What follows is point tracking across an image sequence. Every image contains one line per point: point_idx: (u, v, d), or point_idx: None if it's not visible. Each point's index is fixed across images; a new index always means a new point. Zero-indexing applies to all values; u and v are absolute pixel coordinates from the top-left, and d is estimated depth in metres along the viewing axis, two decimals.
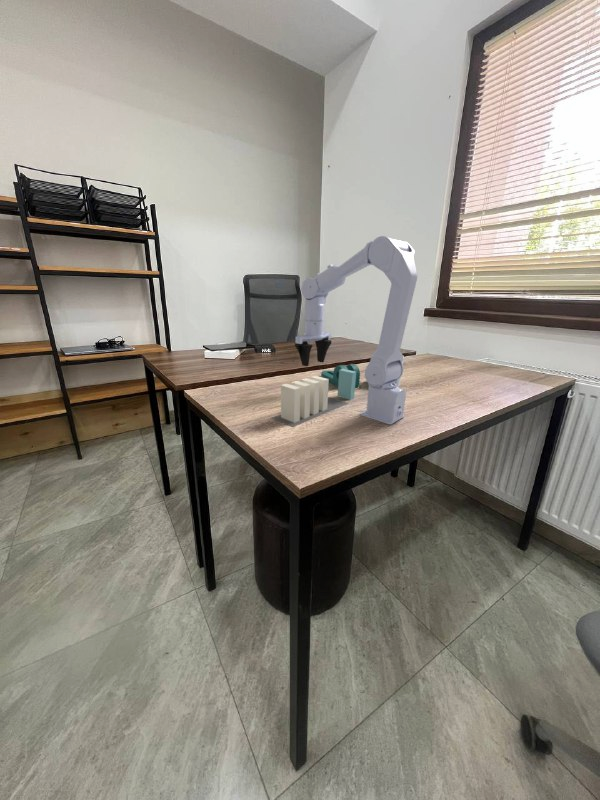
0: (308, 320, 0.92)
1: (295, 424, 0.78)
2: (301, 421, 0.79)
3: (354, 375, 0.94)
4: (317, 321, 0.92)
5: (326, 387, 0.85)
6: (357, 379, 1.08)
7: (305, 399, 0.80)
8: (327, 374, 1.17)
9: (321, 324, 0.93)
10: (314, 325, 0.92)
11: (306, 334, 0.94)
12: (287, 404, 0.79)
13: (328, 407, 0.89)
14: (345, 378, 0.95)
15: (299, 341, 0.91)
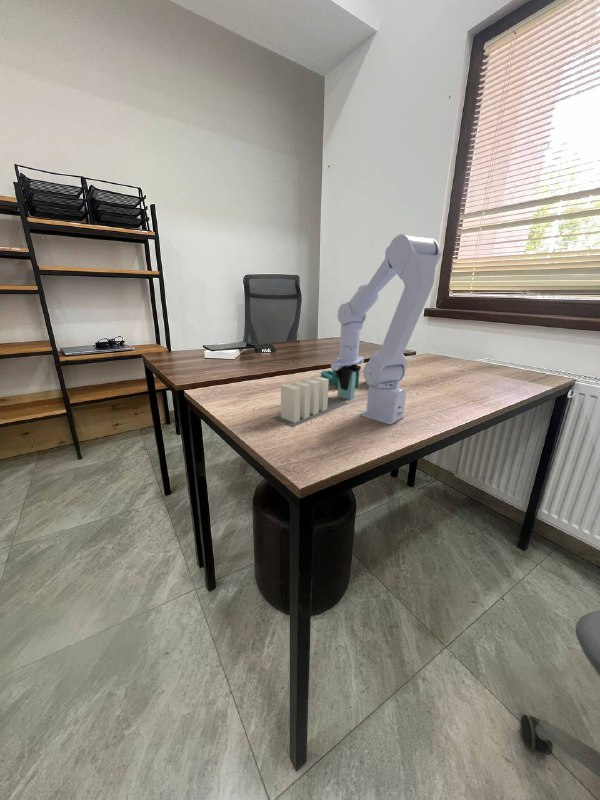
0: (344, 346, 0.90)
1: (295, 424, 0.78)
2: (301, 421, 0.79)
3: (354, 375, 0.94)
4: (353, 347, 0.90)
5: (326, 387, 0.85)
6: (356, 379, 1.07)
7: (305, 399, 0.80)
8: (327, 374, 1.17)
9: (357, 350, 0.91)
10: (350, 351, 0.90)
11: (341, 359, 0.92)
12: (287, 404, 0.79)
13: (328, 407, 0.89)
14: None
15: (335, 368, 0.89)
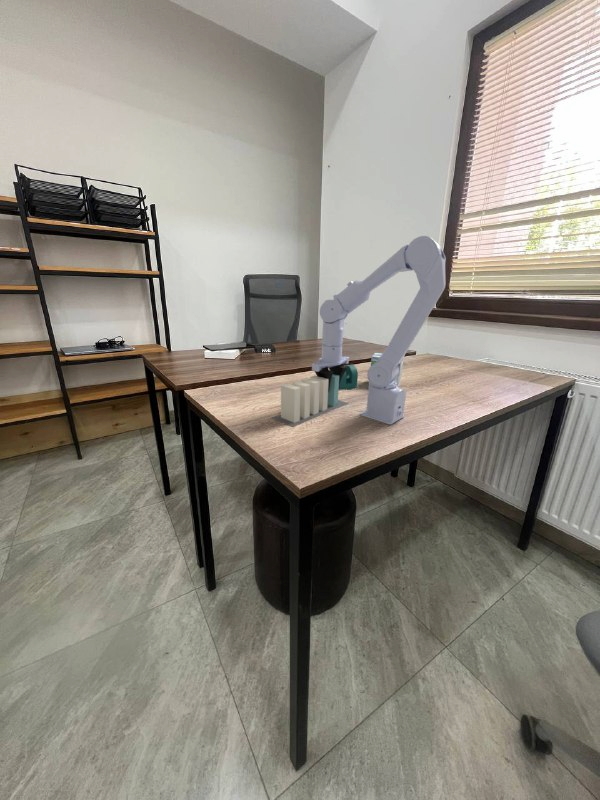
0: (326, 345, 0.84)
1: (295, 424, 0.78)
2: (301, 421, 0.79)
3: (337, 379, 0.88)
4: (336, 346, 0.84)
5: (326, 387, 0.85)
6: (355, 380, 1.07)
7: (305, 399, 0.80)
8: None
9: (340, 349, 0.85)
10: (332, 351, 0.84)
11: (323, 360, 0.86)
12: (287, 404, 0.79)
13: (328, 407, 0.89)
14: None
15: (316, 368, 0.83)
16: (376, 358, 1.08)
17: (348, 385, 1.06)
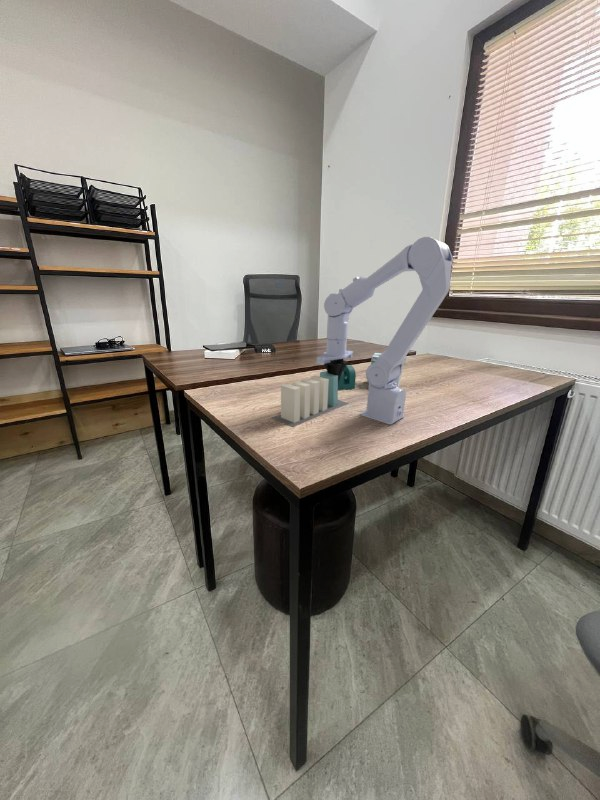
0: (330, 339, 0.85)
1: (295, 424, 0.78)
2: (301, 421, 0.79)
3: (336, 379, 0.88)
4: (340, 340, 0.84)
5: (326, 387, 0.85)
6: (352, 380, 1.06)
7: (305, 399, 0.80)
8: None
9: (344, 343, 0.86)
10: (337, 344, 0.85)
11: (328, 353, 0.87)
12: (287, 404, 0.79)
13: (328, 407, 0.89)
14: None
15: (321, 362, 0.84)
16: (376, 358, 1.08)
17: (346, 385, 1.06)
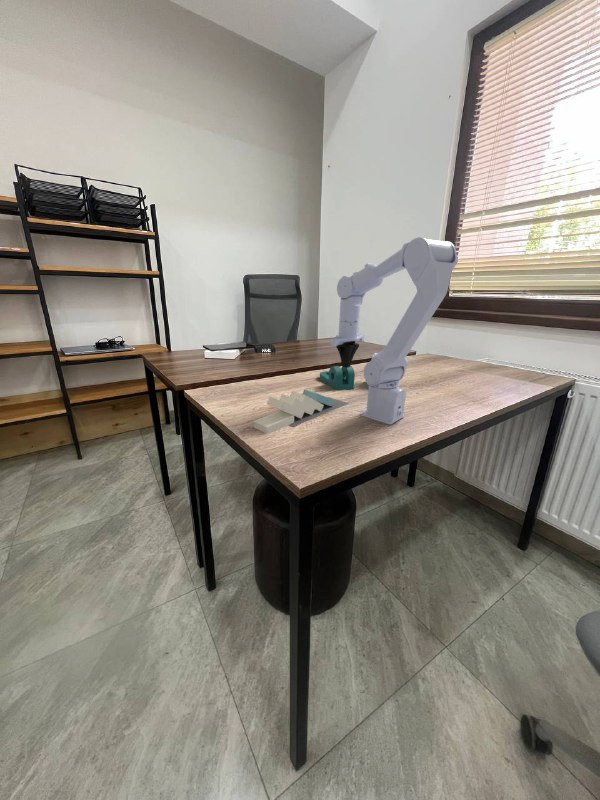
0: (343, 321, 0.87)
1: (295, 424, 0.78)
2: (301, 421, 0.79)
3: (318, 397, 0.84)
4: (353, 322, 0.87)
5: (309, 401, 0.81)
6: (351, 381, 1.05)
7: (289, 412, 0.76)
8: (325, 375, 1.16)
9: (357, 325, 0.88)
10: (350, 326, 0.87)
11: (340, 336, 0.89)
12: None
13: (328, 407, 0.89)
14: None
15: (334, 343, 0.86)
16: None
17: (344, 386, 1.05)
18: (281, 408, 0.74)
